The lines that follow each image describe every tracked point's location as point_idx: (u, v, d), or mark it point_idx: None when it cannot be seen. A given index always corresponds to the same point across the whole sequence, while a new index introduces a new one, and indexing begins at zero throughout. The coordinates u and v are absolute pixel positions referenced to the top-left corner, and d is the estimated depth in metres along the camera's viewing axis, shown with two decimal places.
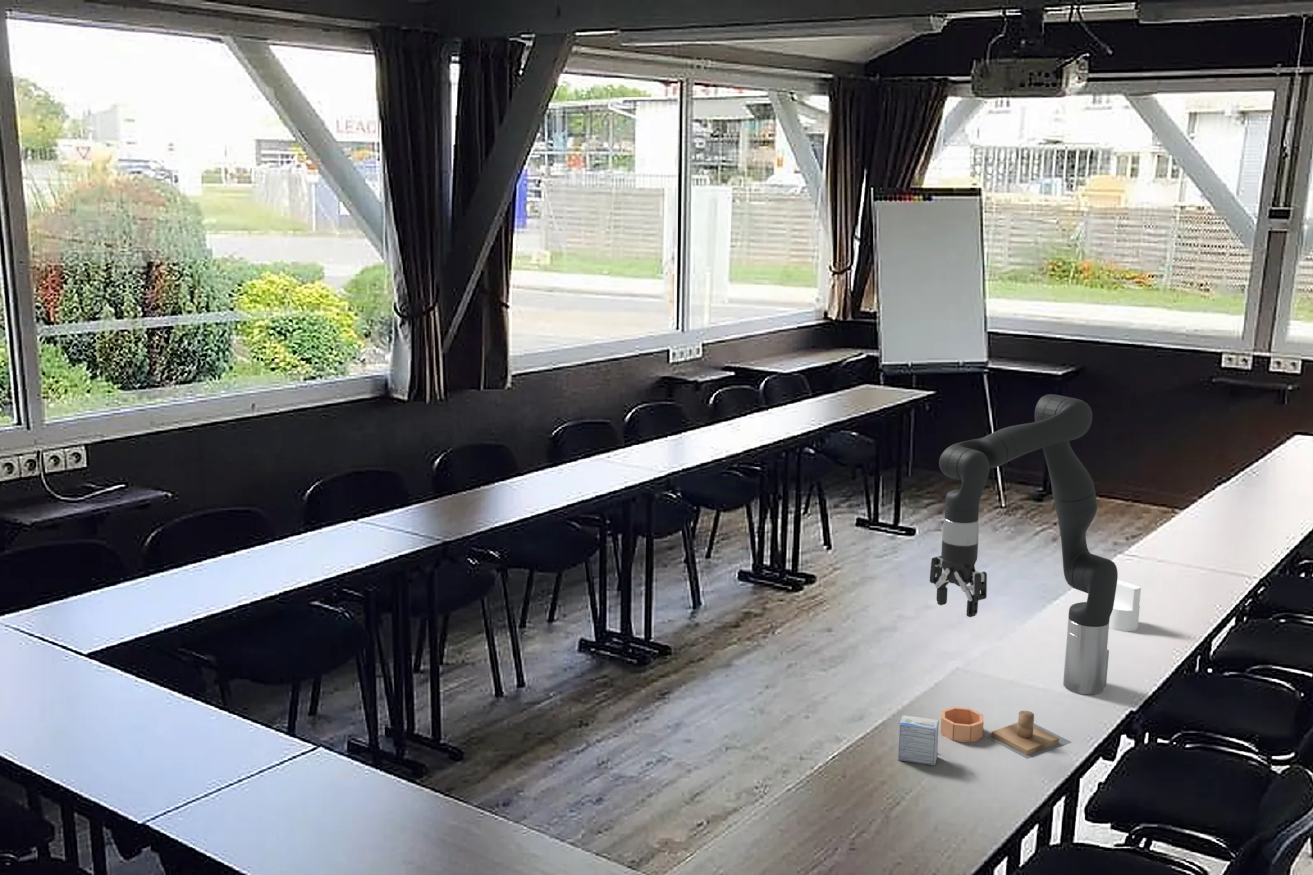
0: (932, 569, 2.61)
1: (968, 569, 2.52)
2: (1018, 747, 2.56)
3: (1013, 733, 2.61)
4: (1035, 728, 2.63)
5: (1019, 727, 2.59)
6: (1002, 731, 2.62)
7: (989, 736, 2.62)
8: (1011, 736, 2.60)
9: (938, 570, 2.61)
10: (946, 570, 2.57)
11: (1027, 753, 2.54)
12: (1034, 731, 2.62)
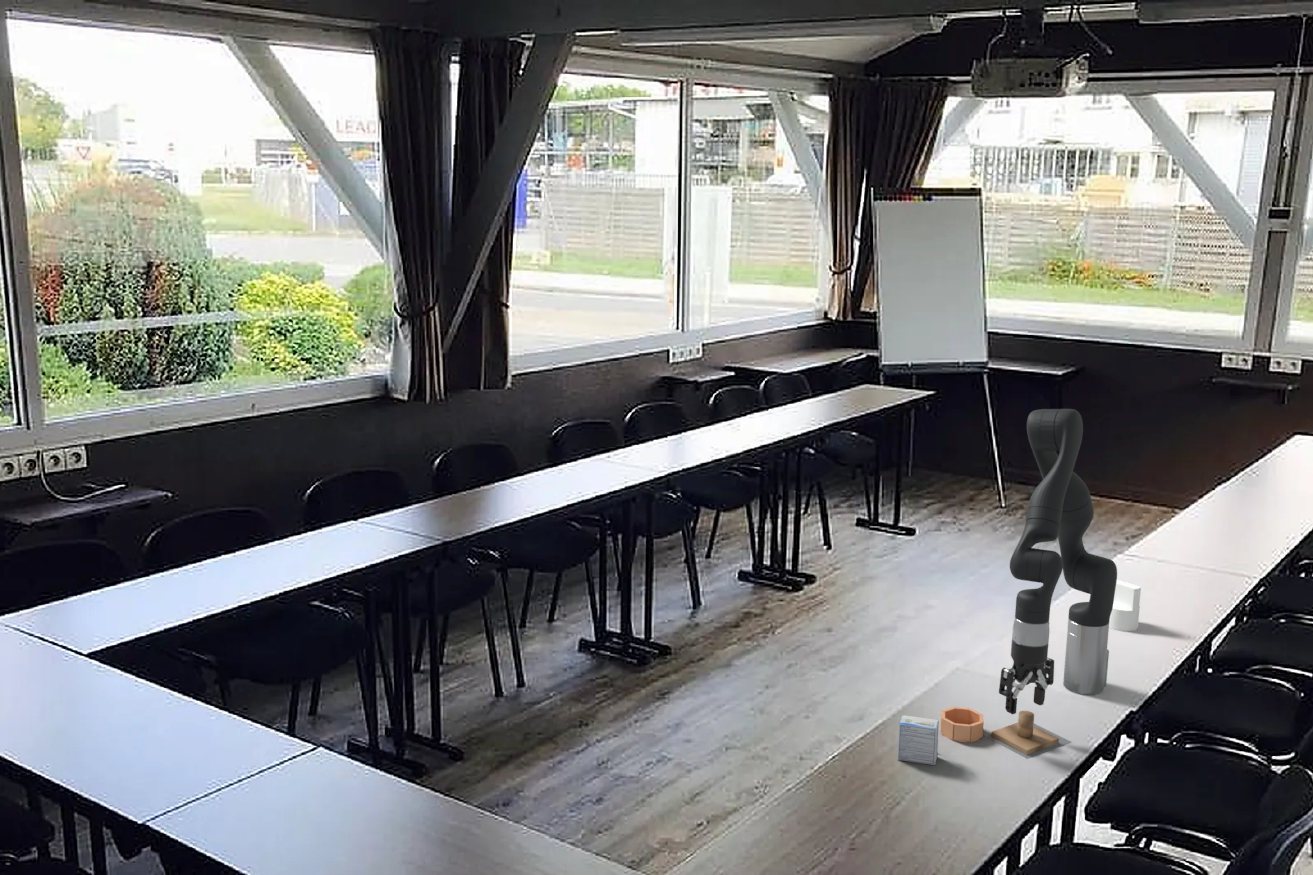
0: (1010, 683, 2.53)
1: None
2: (1018, 747, 2.56)
3: (1013, 733, 2.61)
4: (1035, 728, 2.63)
5: (1019, 727, 2.59)
6: (1002, 731, 2.62)
7: (989, 736, 2.62)
8: (1011, 736, 2.60)
9: None
10: (1029, 674, 2.54)
11: (1027, 753, 2.54)
12: (1034, 731, 2.62)
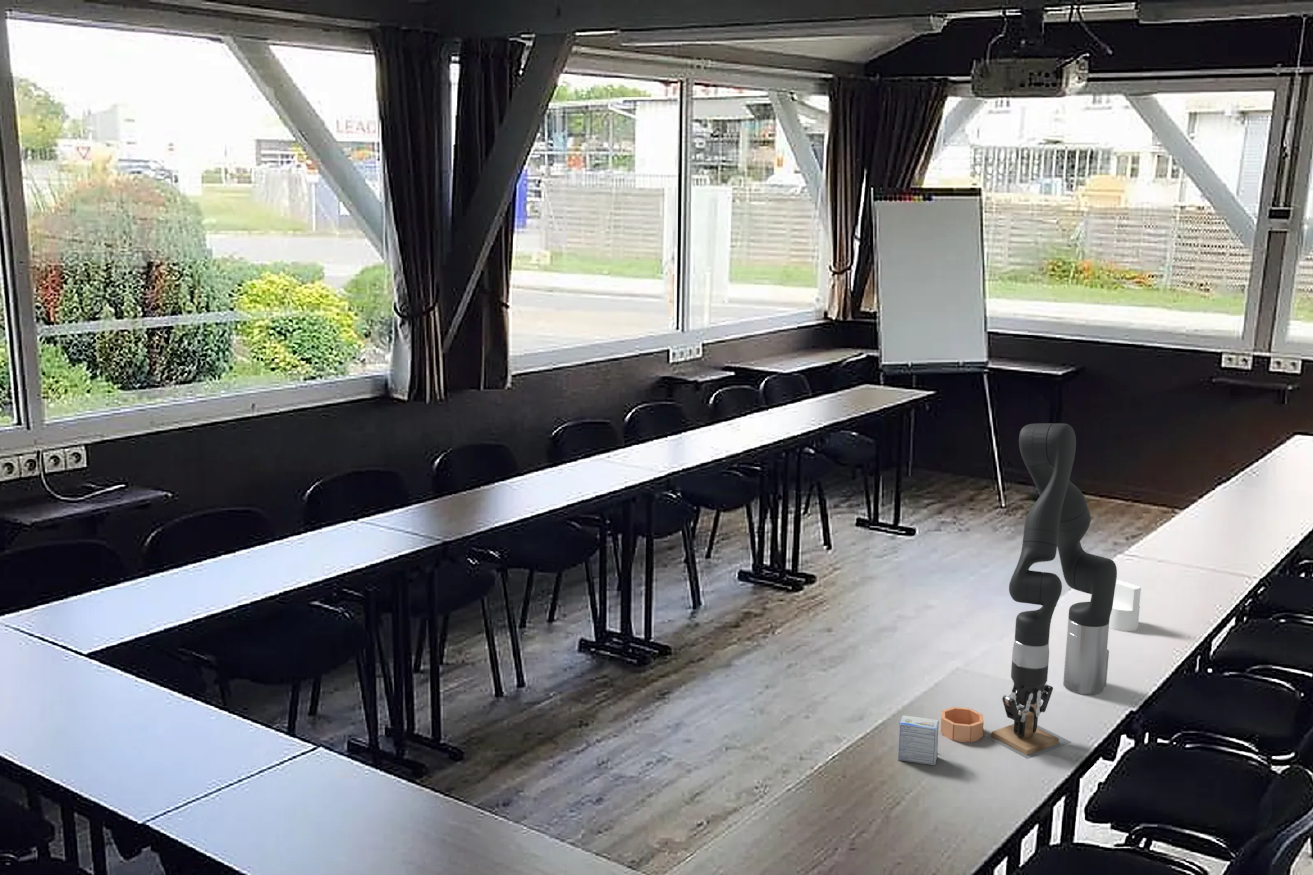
0: (1014, 710, 2.55)
1: None
2: (1018, 747, 2.56)
3: (1013, 733, 2.61)
4: None
5: None
6: (1002, 731, 2.62)
7: (989, 736, 2.62)
8: (1011, 736, 2.60)
9: None
10: (1030, 696, 2.55)
11: (1027, 753, 2.54)
12: None
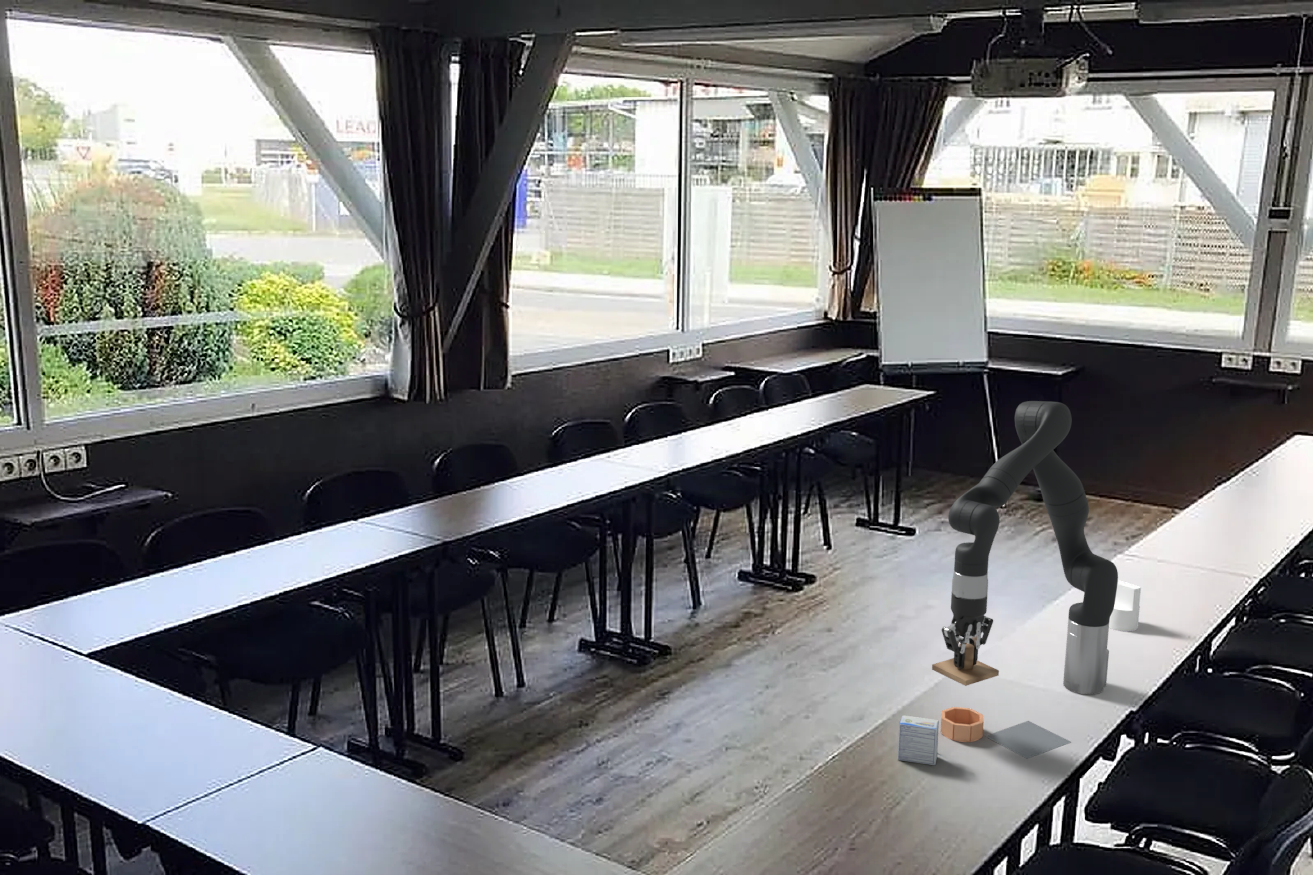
0: (953, 640, 2.55)
1: None
2: (957, 678, 2.56)
3: (954, 665, 2.62)
4: (977, 661, 2.64)
5: None
6: (943, 664, 2.62)
7: (989, 736, 2.62)
8: (951, 668, 2.60)
9: None
10: (969, 627, 2.56)
11: (966, 684, 2.54)
12: None
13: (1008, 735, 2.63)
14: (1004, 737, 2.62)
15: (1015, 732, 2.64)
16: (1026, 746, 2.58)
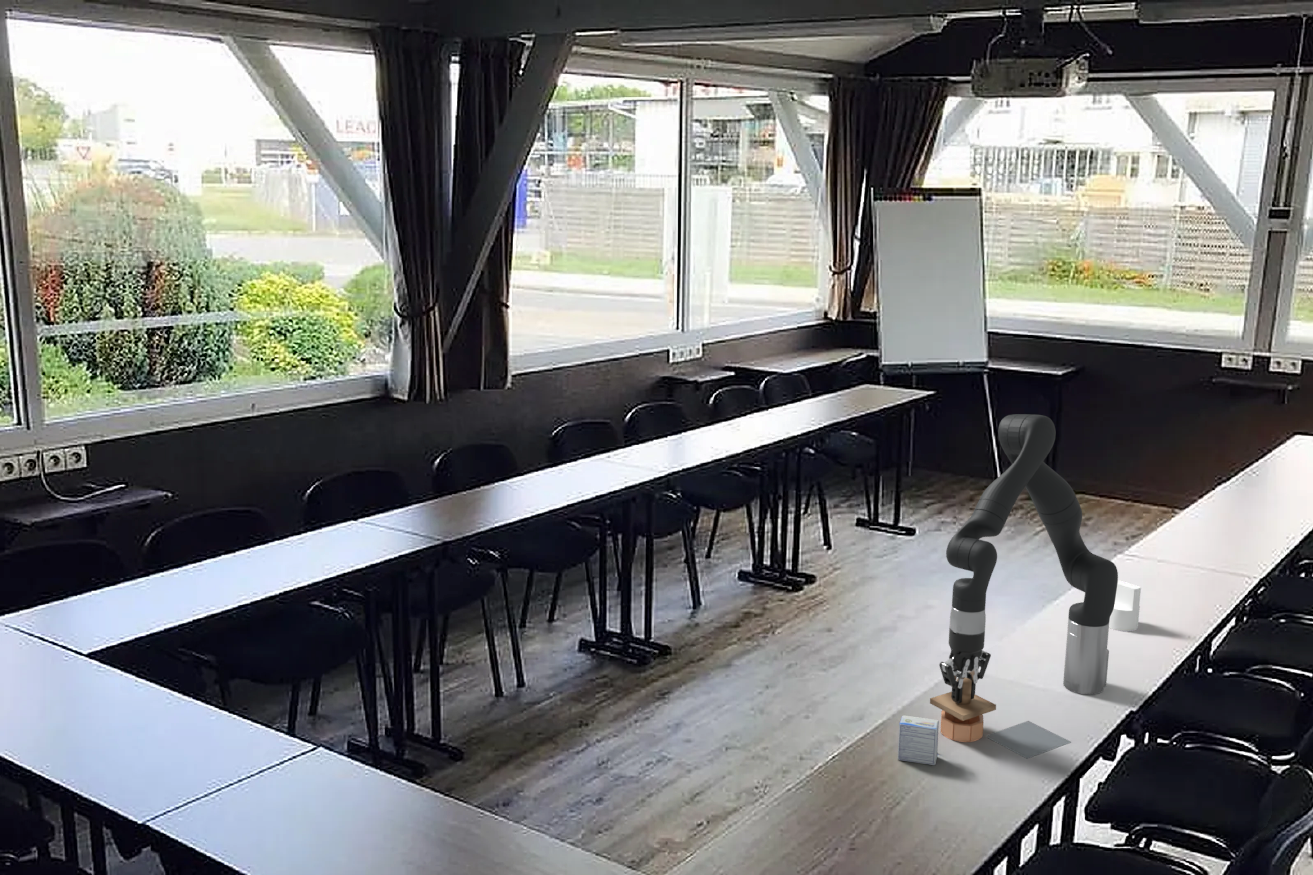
0: (951, 675, 2.57)
1: (981, 650, 2.61)
2: (954, 713, 2.58)
3: (951, 699, 2.63)
4: (974, 695, 2.66)
5: None
6: (941, 698, 2.64)
7: (989, 736, 2.62)
8: (949, 702, 2.62)
9: None
10: (966, 662, 2.58)
11: (963, 718, 2.56)
12: None
13: (1008, 735, 2.63)
14: (1004, 737, 2.62)
15: (1015, 732, 2.64)
16: (1026, 746, 2.58)
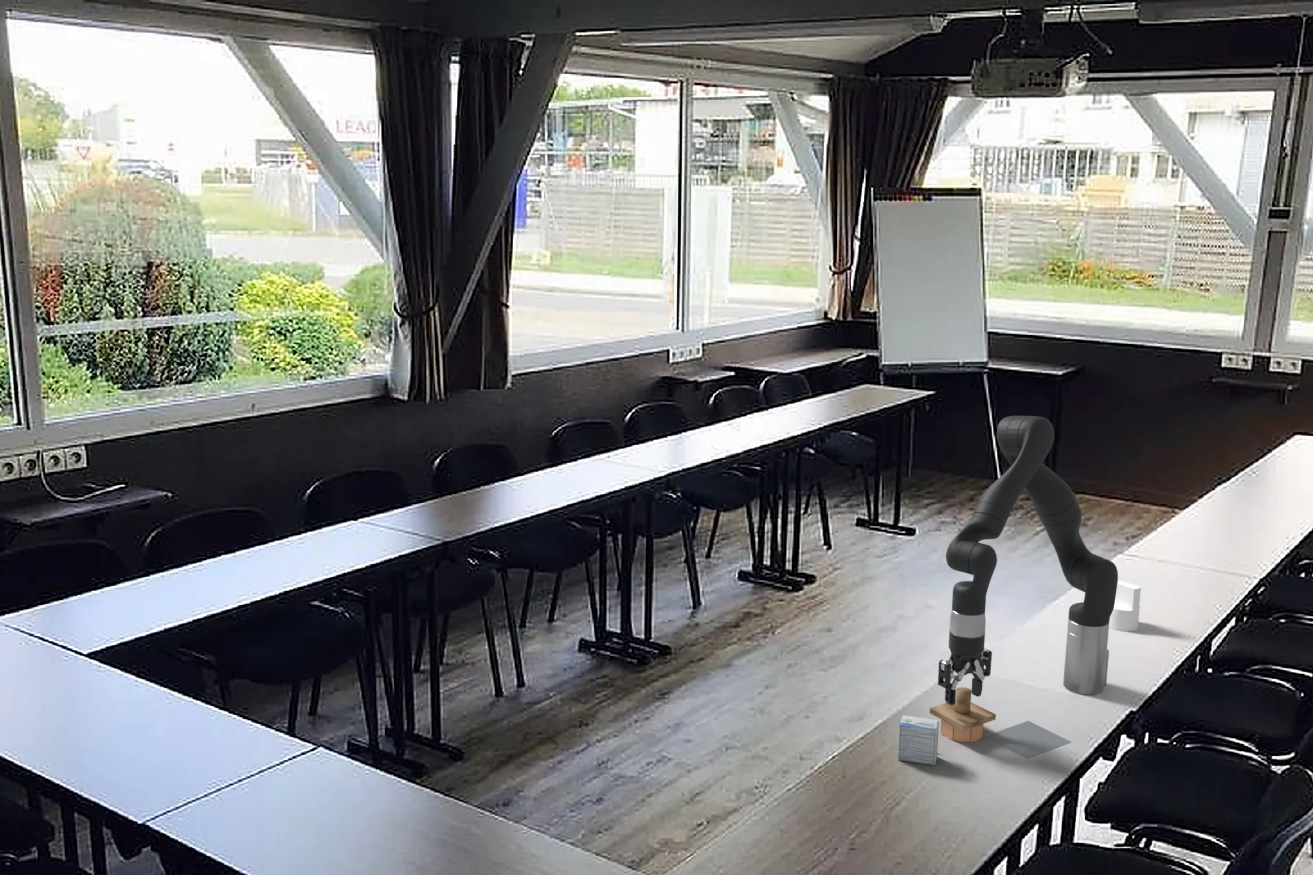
0: (948, 675, 2.56)
1: None
2: (954, 723, 2.59)
3: (951, 709, 2.64)
4: (974, 704, 2.66)
5: (957, 703, 2.62)
6: (940, 707, 2.65)
7: (989, 736, 2.62)
8: (948, 712, 2.63)
9: None
10: (966, 665, 2.58)
11: (963, 728, 2.57)
12: (972, 707, 2.65)
13: (1008, 735, 2.63)
14: (1004, 737, 2.62)
15: (1015, 732, 2.64)
16: (1026, 746, 2.58)
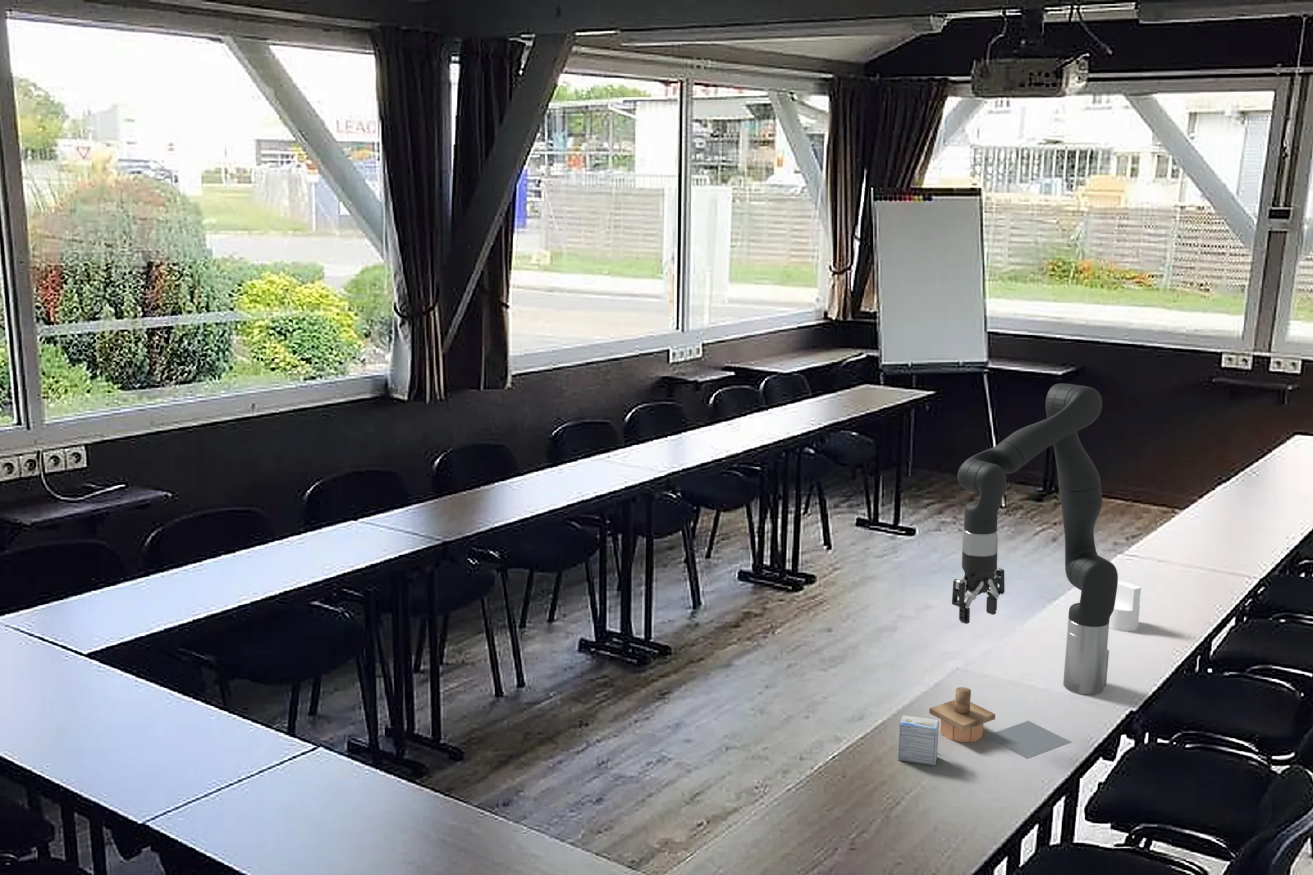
0: (962, 593, 2.60)
1: None
2: (954, 723, 2.58)
3: (951, 709, 2.64)
4: (973, 704, 2.66)
5: (956, 703, 2.62)
6: (940, 707, 2.65)
7: (989, 736, 2.62)
8: (948, 712, 2.63)
9: None
10: (980, 584, 2.62)
11: (963, 728, 2.57)
12: (971, 707, 2.65)
13: (1008, 735, 2.63)
14: (1004, 737, 2.62)
15: (1015, 732, 2.64)
16: (1026, 746, 2.58)
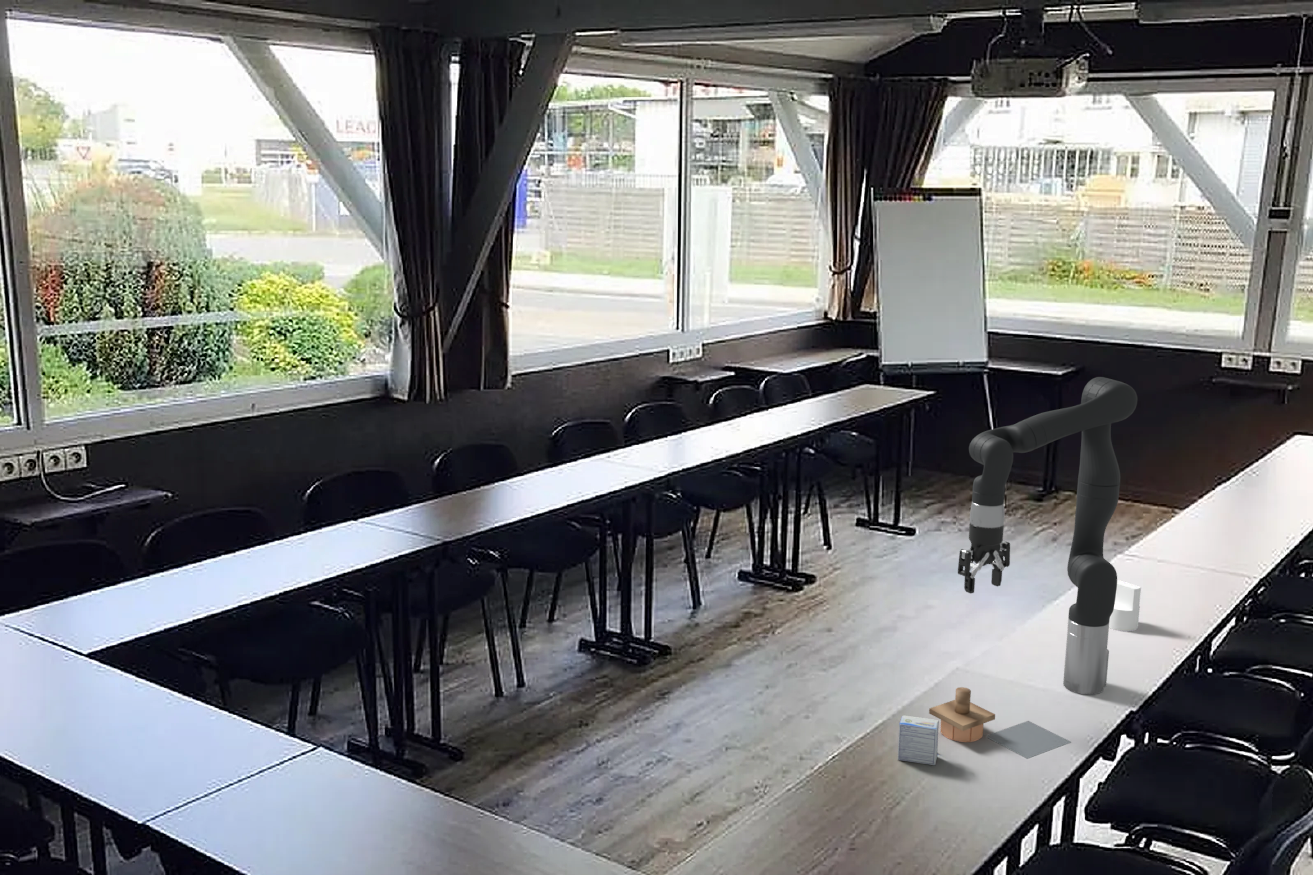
0: (968, 563, 2.68)
1: (999, 543, 2.73)
2: (954, 723, 2.58)
3: (951, 709, 2.64)
4: (973, 704, 2.66)
5: (956, 703, 2.62)
6: (940, 708, 2.65)
7: (989, 736, 2.62)
8: (948, 712, 2.62)
9: None
10: (986, 555, 2.69)
11: (963, 729, 2.57)
12: (971, 707, 2.65)
13: (1008, 735, 2.63)
14: (1004, 737, 2.62)
15: (1015, 732, 2.64)
16: (1026, 746, 2.58)
